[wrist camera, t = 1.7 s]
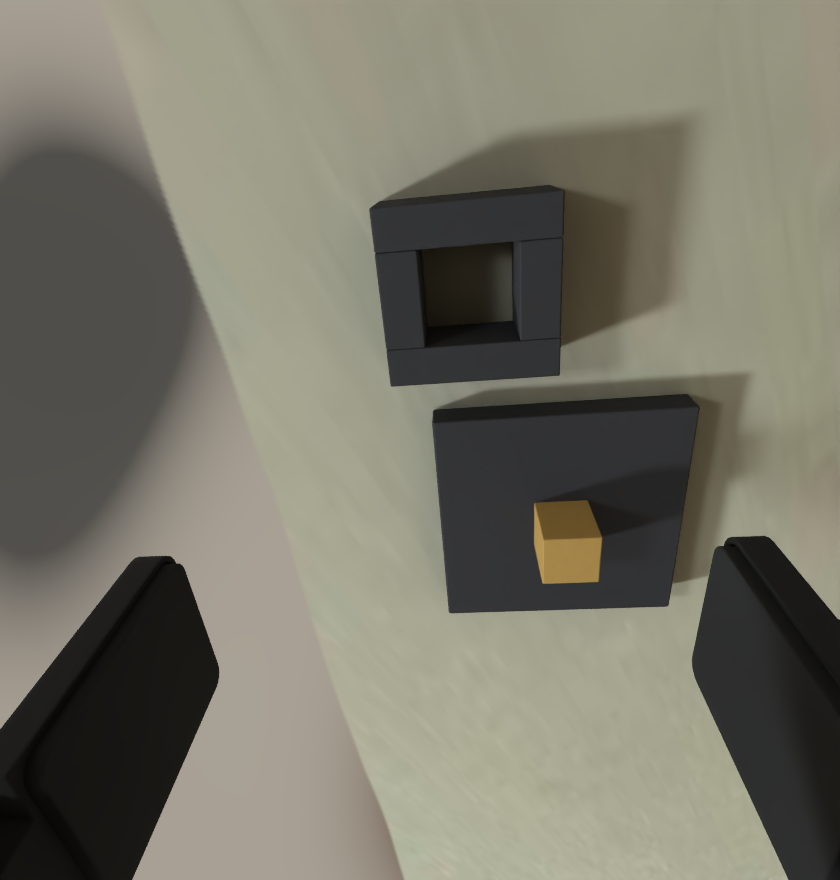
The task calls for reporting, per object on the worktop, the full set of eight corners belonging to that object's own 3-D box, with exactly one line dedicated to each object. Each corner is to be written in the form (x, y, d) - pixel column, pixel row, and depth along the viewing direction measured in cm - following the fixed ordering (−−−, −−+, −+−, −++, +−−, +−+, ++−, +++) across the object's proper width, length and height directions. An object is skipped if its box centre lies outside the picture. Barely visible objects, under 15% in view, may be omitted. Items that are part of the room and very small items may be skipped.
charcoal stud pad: (432, 409, 27) (429, 454, 23) (687, 393, 26) (731, 437, 22) (448, 594, 32) (448, 657, 28) (659, 587, 31) (690, 651, 27)
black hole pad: (378, 201, 23) (368, 208, 20) (551, 184, 22) (565, 189, 19) (396, 362, 26) (390, 387, 23) (548, 352, 25) (559, 375, 23)
